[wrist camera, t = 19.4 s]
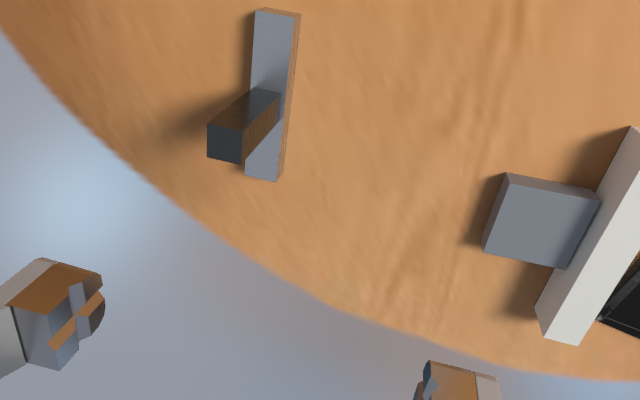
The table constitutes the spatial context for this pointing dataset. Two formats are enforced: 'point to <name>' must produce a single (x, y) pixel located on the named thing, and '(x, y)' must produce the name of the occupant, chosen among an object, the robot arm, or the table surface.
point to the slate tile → (538, 220)
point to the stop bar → (597, 251)
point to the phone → (624, 304)
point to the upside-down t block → (261, 101)
